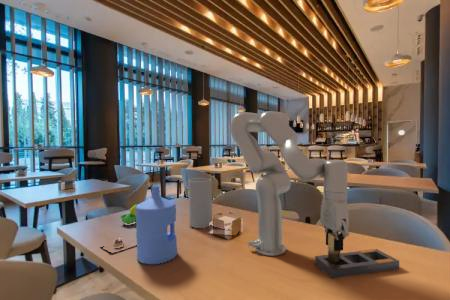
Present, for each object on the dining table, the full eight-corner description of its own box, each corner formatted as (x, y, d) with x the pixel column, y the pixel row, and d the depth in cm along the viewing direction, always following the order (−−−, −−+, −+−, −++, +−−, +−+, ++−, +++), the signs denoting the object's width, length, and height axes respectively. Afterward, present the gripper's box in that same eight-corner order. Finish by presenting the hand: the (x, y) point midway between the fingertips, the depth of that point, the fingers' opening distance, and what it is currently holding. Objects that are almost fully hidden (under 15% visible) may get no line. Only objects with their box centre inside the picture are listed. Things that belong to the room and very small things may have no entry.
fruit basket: (137, 219, 154) (136, 200, 153) (146, 222, 148) (146, 202, 148) (119, 225, 144) (119, 204, 144) (129, 227, 139) (128, 207, 139)
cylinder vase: (216, 223, 143) (215, 178, 142) (203, 230, 132) (202, 182, 131) (199, 220, 150) (198, 177, 149) (184, 226, 139) (183, 180, 138)
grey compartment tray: (331, 278, 84) (331, 269, 84) (315, 264, 94) (315, 255, 94) (399, 269, 89) (399, 260, 89) (376, 256, 99) (376, 248, 99)
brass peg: (332, 262, 88) (332, 236, 88) (325, 257, 92) (325, 232, 92) (342, 261, 89) (343, 235, 88) (335, 256, 93) (336, 231, 92)
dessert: (99, 248, 114) (98, 237, 114) (125, 240, 122) (125, 230, 122) (111, 256, 105) (110, 244, 105) (138, 247, 114) (137, 236, 114)
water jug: (140, 269, 93) (138, 192, 92) (134, 253, 107) (132, 186, 106) (182, 259, 100) (180, 187, 99) (171, 245, 114) (169, 182, 113)
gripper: (312, 191, 97) (311, 239, 98) (340, 202, 80) (339, 259, 81) (330, 190, 98) (329, 237, 99) (361, 200, 82) (360, 257, 83)
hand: (334, 246), depth 90 cm, fingers closed on brass peg, 4 cm apart
